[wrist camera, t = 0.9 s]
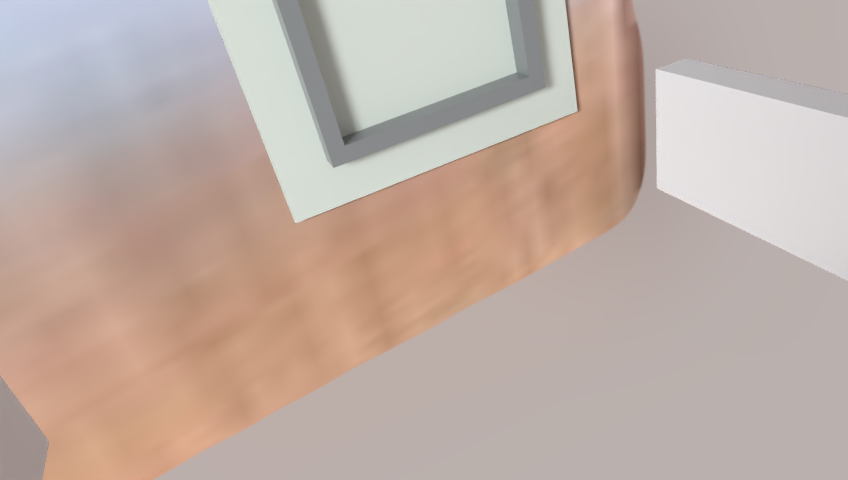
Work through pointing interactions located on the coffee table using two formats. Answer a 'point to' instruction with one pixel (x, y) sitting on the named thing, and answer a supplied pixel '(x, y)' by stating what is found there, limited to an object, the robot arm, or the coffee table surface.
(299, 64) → the square seat
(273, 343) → the coffee table surface
